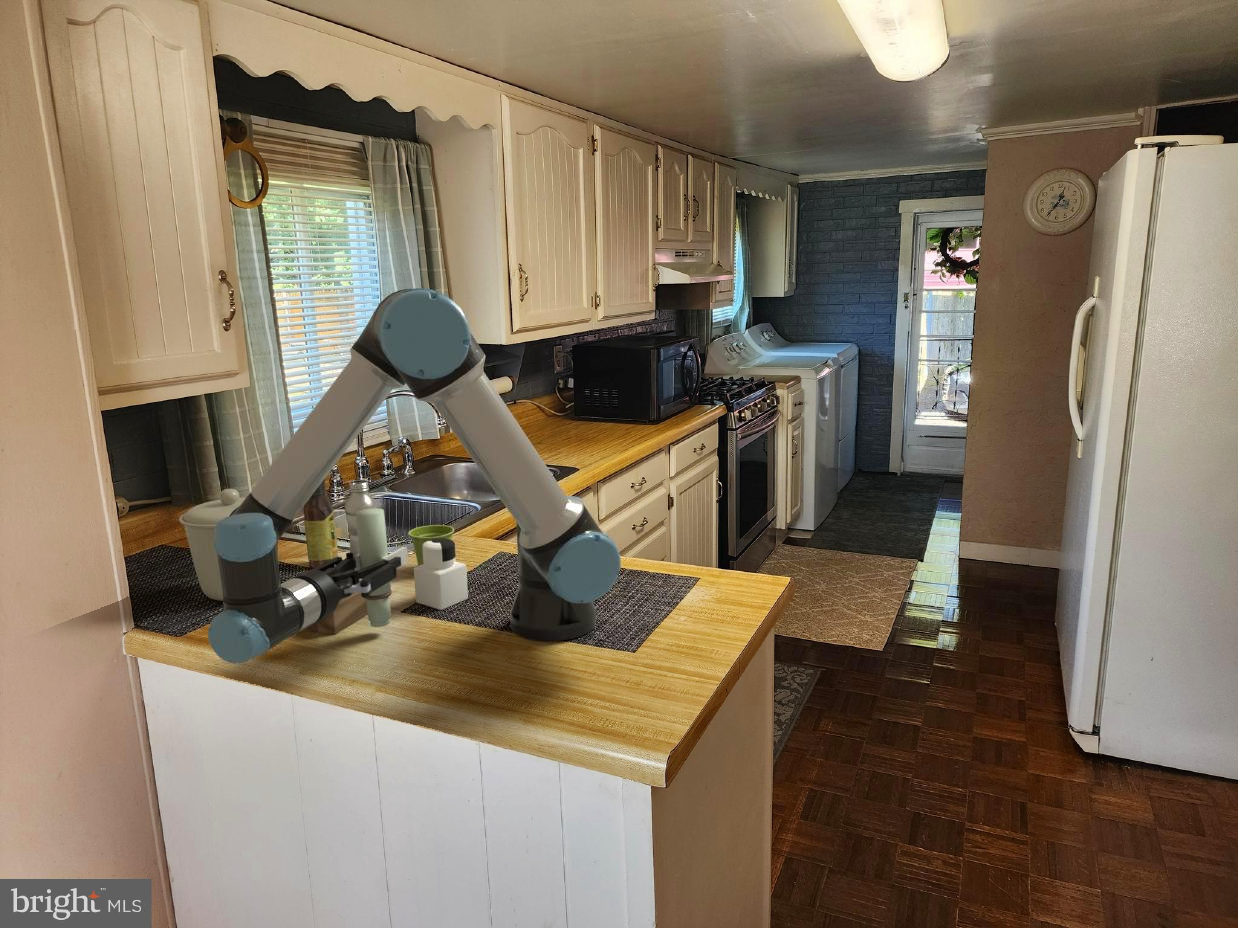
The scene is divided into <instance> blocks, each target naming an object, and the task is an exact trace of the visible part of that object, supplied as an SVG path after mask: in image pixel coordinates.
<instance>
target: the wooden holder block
mask: <svg viewBox="0 0 1238 928" xmlns="http://www.w3.org/2000/svg"><path fill="white" fill-rule="evenodd" d="M366 616H368V611H367V601H366V599H365V598H363V597H362V596H361V594H360V593H352V595H351V596H349V597H346V598H343V599H341V600H340V602H339V603H338V605H337V607H336V609H335V610H334V611H333V612H332V613H331V614H329V615H328V616H326V617H324V618H323V619H321V620H319V621H317V622H315V623H313V624H312V625H310V626H308V627H306V628H304V629H303V630H304V631H311V632H315V633H316V632H317V633H322V634H323V633H324V634H331V635H337V634H339V633H340V632H341V631H344V630H345V629H347V628H349V627H350V626H352V625H353V624H355V623H357V622H358V621H360V620H361V619H364V617H365V618H366ZM303 630H302V631H303Z"/></svg>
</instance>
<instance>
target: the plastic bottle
mask: <svg viewBox="0 0 1238 928" xmlns="http://www.w3.org/2000/svg"><path fill="white" fill-rule="evenodd" d="M348 486H349V488H348V490H349V492H350V495H349V497H348V498H347V500H346V502H345V504H344V513H345V519H346V522H347V526H348V533H349V534H348V535H349V552H352V553H353V557H354V556H355V555H357V554H359V544H358V533H357V523H356V512H358V511H360V510H364V509H371V508H378V505H377V502H376V500H375V499H374V497H373V496H372V495H371V494H370V493H369V491H370V488H369V482H368V480H366V479H358V480H357V479H356V480H351V481H349V485H348ZM355 571H356V568H355Z"/></svg>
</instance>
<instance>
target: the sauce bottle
mask: <svg viewBox="0 0 1238 928" xmlns="http://www.w3.org/2000/svg"><path fill="white" fill-rule="evenodd" d="M326 480H327V479H326V478H325V479H324V480H323V481H322V483H321V484H320V485H319V487H318V488H317V489H316V491H315V492H314V493H313V495H312V496H311V497H310V498H309V500H308V501H307V502H306V504H305V505H304V506H303V508H302V509H303V518H304V519H303V522H304V533H305V541H306V542H305V543H306V551H307V559H308V563H309V566H310V568H312V569H313V568H315V567H317V566H320V565H322V564H324V563H326V562H328V561H330V560H332V559H334V558H336V557H339V549H338V548H339V547H338V538H337V536H338V535H337V526H336V519H335V518H336V517H335V509H334V506H333V505H332V503H331V501H330V499H329V497H328V495H327V489H326Z"/></svg>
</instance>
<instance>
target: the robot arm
mask: <svg viewBox="0 0 1238 928" xmlns="http://www.w3.org/2000/svg"><path fill="white" fill-rule="evenodd" d="M349 350H350V357H351V359H350V360H349V362H348V363H347V364H346V365H345V367H344V368H343V370H342V371H341V372H340V374H339V375H338V376H337V377H336V379H335V380H334V382H333V383H332V384H331V385H330V387H329V388H328V389H327V391H325V393H324V395H323V396H322V397H321V399H320V400H319V401H318V402H317V404H316V405H315V406H314V407H313V408H312V410H311V412H310V413H309V414H308V415H307V417H306V418H305V419H304V421H303V422H302V423H301V424H300V426H299V428H298V429H297V430H296V431H295V433H293V435H292V437H291V438H290V439H289V441H288V442H287V443H286V444H285V446H284V447H283V448H282V449H281V450H280V452H279V454H278V455H277V456H276V458H275V459H274V460H273V462H272V463H271V464H270V465H269V467H268V468H267V469H266V471H265V472H264V473H263V475H262V476H261V477H260V479H258V481H257V483H255V485H254V487H252V489H251V490H250V493H249V494H248V495H247V496H245V497H246V498H245V500H244V501H243V502H242V504H241V505H240V506H238V507H237V508H236V509H234V510H233V511H232V513H231V514H230V515H229V517H226V518H224V519H223V520H220V521H219V522H218V523H217V524H216V526H215V551H216V552H217V557H218V564H219V570H220V577H221V583H222V590H223V601H222V604H223V611H221V612H219V614H217V615H216V616H214V617H213V618H212V620H211V621H210V622H209V623H210V624H209V628H208V629H207V638H208V642H209V645H210V647H211V649H212V650H213V652H214V653H215V654H216V655H217V656H218V657H219V658H220V659H221V660H223V661H225V662H226V663H231V664H233V665H237V664H244V663H246V662H248V661H250V660H253V659H255V658H257V657H258V656H261V655H265V654H266V653H268V651H270V650H271V649H272V648H274V647H275V646H277V645H279V644H280V643H282V642H283V641H286V640H287V639H289V638H291V637H294V636H297V633H299V632H301V631H303V629H304V628H306V627H308V626H310V625H312V624H313V623H315V622H317V621H319V620H321V619H323V618H324V617H326V616H328V615H329V614H331V613H332V612H333V611H334V610H335V609H336V607H337V605H338V603H339V602H340V600H341V599H343V598H346V597H349V596H351V595H352V593H360V594H361V596H362V597H363V598H364V597H369V596H370V594H371V593H372V592H373V591H375V590H376V589H378V588H380V587H381V586H383V585H385V584H387V583H388V582H390V583H391V582H392V581H394V580H395V579H397V578H398V571H397V569H398V568H399V567H401V566H403V565H404V564H406V563H408V562H409V560H408V559H409V557H408V547H407V546H402V547H400V548H398V549H396V550H394V551H392V552H391V553H388V555H387V556H385V557H383V558H381V562H378V563H375V564H373V565H370V566H368V567H365V568H362V569H361V564H360V554H357V555H355V556H354V557H353V553H352V552H350V551H349V552H346V553H345V558H344V559H343V557H342V556H338V557H336V558H334V559H332V560H330V561H328V562H326V563H324V564H322V565H320V566H317V567H315V568H313V567H312V568H311V569H310V570H308V571H307V570H306V571H303V572H300V573H298V574H296V576H295V577H293V578H290V579H287V580H286V581H284V582H282V583H281V577H280V565H279V556H278V551H279V549H278V548H279V547H278V546H279V545H278V544H279V540H280V539H281V538H282V536H283V535H284V534H285V532H286V531H287V530H288V529H289V527H290V526H291V524H292V523H293V521H294V519H296V518H297V515H298V514H299V513H300V512H301V511H302V509H304V505H305V504H306V502H307V501H308V500H309V498H310V497H311V496H312V495H313V493H314V492H315V491H316V489H317V488H318V487H319V485H320V484H321V483H322V481H323V480H324V479H326V477H327V476H328V475H329V474H330V473H331V470H333V468H334V467H335V466H336V464H337V463H338V462H339V461H340V459H341V457H343V455H344V454H345V453H346V451H347V450H348V449H349V447H350V446H351V445H352V444H353V442H354V441H355V440H356V438H357V437H358V435H359V434H360V433H361V432H362V430H363V429H364V428H365V426H366V425H367V424H368V422H369V421H370V420H371V419H372V417H373V416H374V414H375V413H376V412H377V411H378V409H379V408H380V407H381V405H382V404H383V403H384V402H385V400H386V399H387V398H388V396H389V395H390V394H391V393H392V391H393V390H395V389H400V388H403V387H404V386H405V385H406V386H407V388H409V390H410V391H411V393H412V394H413V396H414V397H415V399H416V400H417V401H419V402H425V403H430V404H432V405H434V407H435V408H436V410H437V411H438V413H439V414H440V416H441V417H442V418H443V420H444V421H445V422H446V424H447V425H448V427H449V429H451V431H452V432H453V434H454V435H455V437H456V438H457V439H458V441H459V442H460V444H461V445H462V446H463V448H464V449H465V451H466V453H467V454H468V455H469V457H470V458H471V460H472V461H473V462H474V464H475V465H476V466H477V468H478V469H479V471H480V472H481V473H482V475H483V476H484V478H485V480H486V481H487V482H488V484H489V485H490V487H491V488H492V489H493V491H494V492H495V493H496V495H497V497H498V498H499V499H500V501H501V502H502V503H503V505H504V506H505V507H506V509H507V511H508V512H509V514H510V515H511V516H512V518H513V519H514V520H515V523H516V546H517V547H516V549H517V569H518V570H517V571H518V587H517V590H516V593H515V598H514V600H513V603H512V608H511V610H510V615H509V616H510V621H509V622H510V629H511V630H512V632H513V633H514V634H516V635H517V636H519V637H521V638H524V639H527V640H531V641H532V640H533V641H539V642H557V641H566V640H571V639H576V638H579V637H582V636H584V635H587V634H588V633H590V632H591V631H593V630H594V628H595V627H596V625H597V610H596V607H595V605H594V601H596V600H598V599H600V598H602V597H604V596H605V595H606V594H607V593H608V592H609V591H610V590H611V589H612V588H613V586H615V585H614V584H615V583H616V582H617V580H618V577H619V574H620V570H621V565H622V564H621V560H622V559H621V554H620V551H619V548H618V547H617V545H616V544H615V542H614V540H613V538H611V537H609V535H607V534H605V533H604V532H603V531H602V530H601V528H600V527H599V525H598V524H597V522H596V521H595V519H594V518H593V516H592V515H591V513H590V512H589V510H588V509H587V508H586V506H585V504H584V500H583V499H582V498H580V497H578V496H573V495H567V494H566V493H565V492H564V491H563V488H562V487H561V486H560V484H559V483H558V481H557V480H556V479H555V477H554V475H553V474H552V472H551V470H550V469H549V467H548V466H547V464H546V463H545V461H544V460H543V459H542V457H541V456H540V454H539V452H538V451H537V450H536V448H535V447H534V445H533V444H532V442H531V440H530V439H529V438H528V436H527V435H526V433H525V431H524V430H523V429H522V427H521V426H520V424H519V422H518V421H517V419H516V418H515V416H514V415H513V413H512V412H511V411H510V409H509V408H508V406H507V404H506V402H505V401H504V399H503V398H502V397H501V396H500V394H499V392H498V391H497V389H496V388H495V386H494V385H493V384H492V382H491V380H490V379H489V378H488V376H487V374H486V373H485V372H484V366H485V361H486V354H485V353H484V351H483V349H482V348H481V346H480V345H479V343H478V342H477V340H476V339H475V337H474V335H473V334H472V333H471V328H470V325H469V322H468V319H467V316H466V315H465V313H464V311H463V310H462V308H461V307H460V306H459V304H457V303H456V301H454V300H453V299H452V298H450V297H448V295H445V294H443V293H442V292H441V291H438V290H433V289H431V288H425V287H424V288H420V287H419V288H404V289H399V290H397V291H393V292H392V293H390V294H388V295H387V296H386V297H384V299H382V300H381V302H380V303H378V305H377V307H376V308H375V310H374V312H373V313H372V315H371V316H370V319H369V321H368V322H367V324H366V326H365V327H364V329H363V331H362V332H361V333H360V335H359V337H358V338H357V340H356V341H355V342H354V343H353V345H352V346H351V347H350V349H349ZM355 568H356V571H355Z"/></svg>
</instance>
